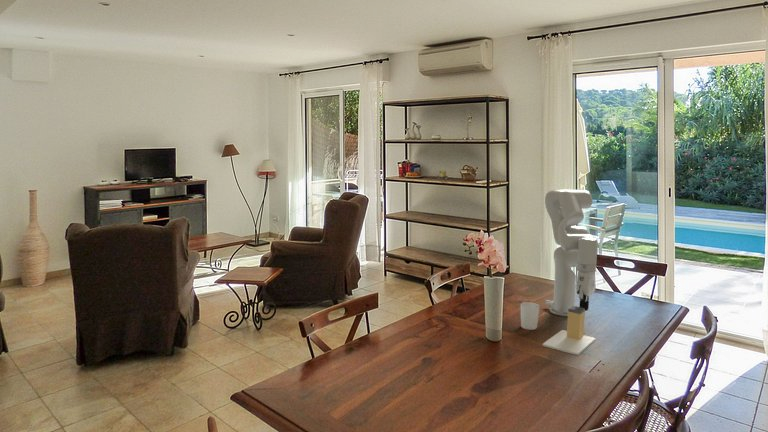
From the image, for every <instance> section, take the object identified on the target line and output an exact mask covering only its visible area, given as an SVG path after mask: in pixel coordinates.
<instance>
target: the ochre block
mask: <svg viewBox="0 0 768 432" xmlns="http://www.w3.org/2000/svg"><path fill="white" fill-rule="evenodd" d="M585 316H586V311H585V308H581V307H579V306H576V305H575V306H572V307H570V308H569V309H568V316H567V325H566V331H567V337H569V338H573V339H577V340H579V339H581V338H582V337H583V335H584V331H585V319H586V318H585Z"/></svg>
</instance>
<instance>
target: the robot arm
mask: <svg viewBox="0 0 768 432" xmlns="http://www.w3.org/2000/svg"><path fill="white" fill-rule="evenodd" d="M544 204H545V208H546V211H547V214H548V216H549V218H550V220H551V226H552V232H553V239H554V242H555V244H557V245H558V246H559V247H557V248H556V249H555V250H554V251H553V261H554V262H553V263H554V283H553V285H554V287H553V300H550V299H545V305H546V306H550V307H549V312H550V313H551V314H554V315H557V316H561V317H568V309H569V308H570V307H572V306H576V302H575V301H576V294H577V295H578V299H579V306H578V307H581V308H585V312H587V311H588V310H589V306H590V305H589V303H590V296H591V295H592V294H594V293H595V291H596V272H597V259H598V258H597V257H598V245H599V244H598V239H596V238H595V237H594V235H593V234H590V232H589V230H588V228H587V227H585V226H582V225H581V226H580V225H578V224H580V223H582V222H583V221H584V218H585V215H584V211H583V210H584V209H585V210H586V209H587V210H588V209H590V208H591V207H592V206H593V196H592V194H591V193H590V191H588V190H584V189H583V190H582V189H553V190H549V191H548V192H546V194H545V197H544ZM572 268H576V271H577V275H576V274H575V272H574V270H573V269H572Z"/></svg>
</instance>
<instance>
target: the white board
mask: <svg viewBox="0 0 768 432" xmlns="http://www.w3.org/2000/svg"><path fill="white" fill-rule="evenodd" d="M596 340H597V339H596V337H593V336H588V335H584V334H583V337H582V338H581V339H579V340H577V339H573V338H569V337H567V330H564V329H561V330H560V331H558V332H557V333H555V334H554V335H552V336H551V337H550V338H548V339H547V340H546V341H545V342H543V343H542V347H545V348H549V349H553V350H557V351H559V352H564V353H568V354H571V355H575V356H579V355H580V354H581V353H582V352H584V351H585V350H586V349H587V348H588V347H589V346H590V345H592V344H593V343H594V342H595V341H596Z"/></svg>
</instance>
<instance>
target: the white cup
mask: <svg viewBox="0 0 768 432" xmlns="http://www.w3.org/2000/svg"><path fill="white" fill-rule="evenodd" d="M539 315H540V304H538V303H535V302H528V301H526V302H525V301H524V302H521V303H520V327H521V328H522V329H525V330H528V331H529V330H530V331H531V330H536V329H537V328H538V323H539Z"/></svg>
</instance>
